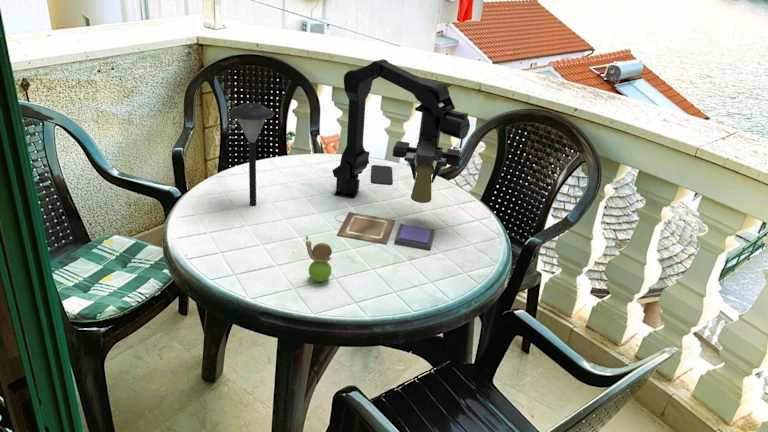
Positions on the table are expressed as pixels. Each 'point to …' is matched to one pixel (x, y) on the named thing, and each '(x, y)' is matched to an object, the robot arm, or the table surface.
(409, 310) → the table surface
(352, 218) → the marked board
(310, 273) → the snail figurine
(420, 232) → the ink pad
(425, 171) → the cork
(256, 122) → the solar garden light
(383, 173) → the phone
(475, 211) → the table surface
